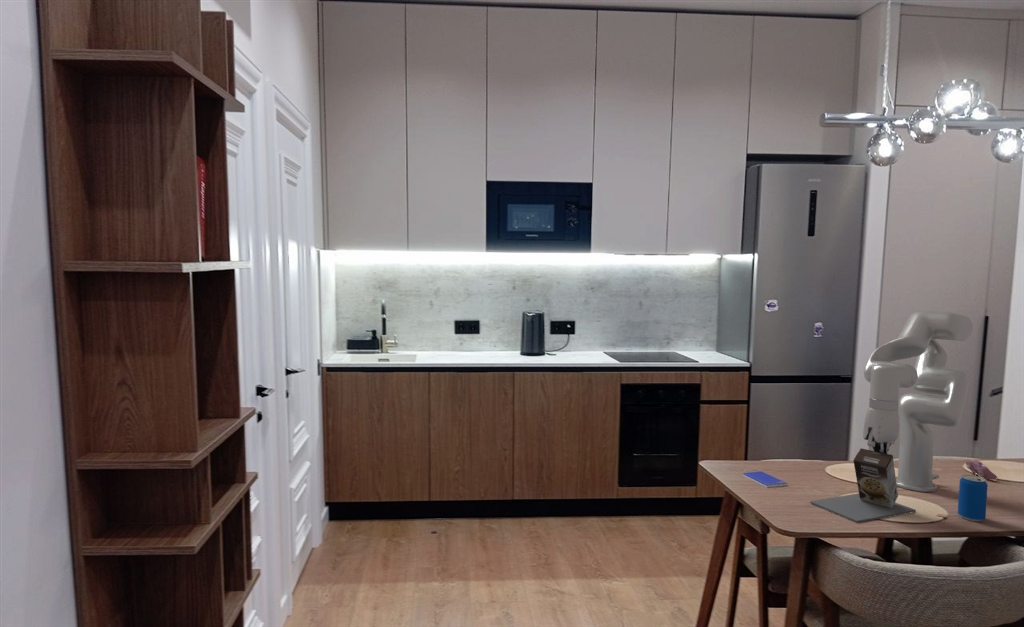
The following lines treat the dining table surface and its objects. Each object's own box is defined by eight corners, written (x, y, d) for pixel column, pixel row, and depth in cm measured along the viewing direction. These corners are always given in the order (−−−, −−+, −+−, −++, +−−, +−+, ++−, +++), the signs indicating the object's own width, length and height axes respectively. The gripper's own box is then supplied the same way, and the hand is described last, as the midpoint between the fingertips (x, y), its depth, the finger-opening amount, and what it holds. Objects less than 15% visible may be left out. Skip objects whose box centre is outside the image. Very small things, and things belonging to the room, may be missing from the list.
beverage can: (990, 523, 173) (992, 482, 173) (965, 521, 174) (967, 480, 174) (977, 514, 180) (979, 475, 179) (953, 513, 181) (955, 473, 180)
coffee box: (859, 500, 188) (851, 460, 182) (866, 487, 192) (859, 447, 186) (892, 509, 181) (885, 467, 175) (899, 495, 185) (893, 454, 179)
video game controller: (969, 476, 221) (960, 459, 221) (981, 472, 220) (973, 454, 220) (986, 486, 211) (978, 467, 211) (1000, 480, 210) (991, 462, 210)
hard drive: (787, 482, 203) (762, 471, 214) (766, 484, 200) (742, 472, 212) (787, 487, 203) (762, 475, 215) (766, 489, 200) (742, 477, 212)
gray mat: (866, 493, 196) (866, 492, 196) (915, 511, 181) (915, 509, 181) (809, 503, 186) (809, 501, 186) (856, 522, 172) (856, 520, 172)
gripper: (888, 401, 191) (884, 458, 192) (855, 403, 185) (851, 462, 186) (911, 406, 184) (908, 465, 185) (878, 408, 178) (874, 469, 179)
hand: (879, 463), depth 185 cm, fingers closed
